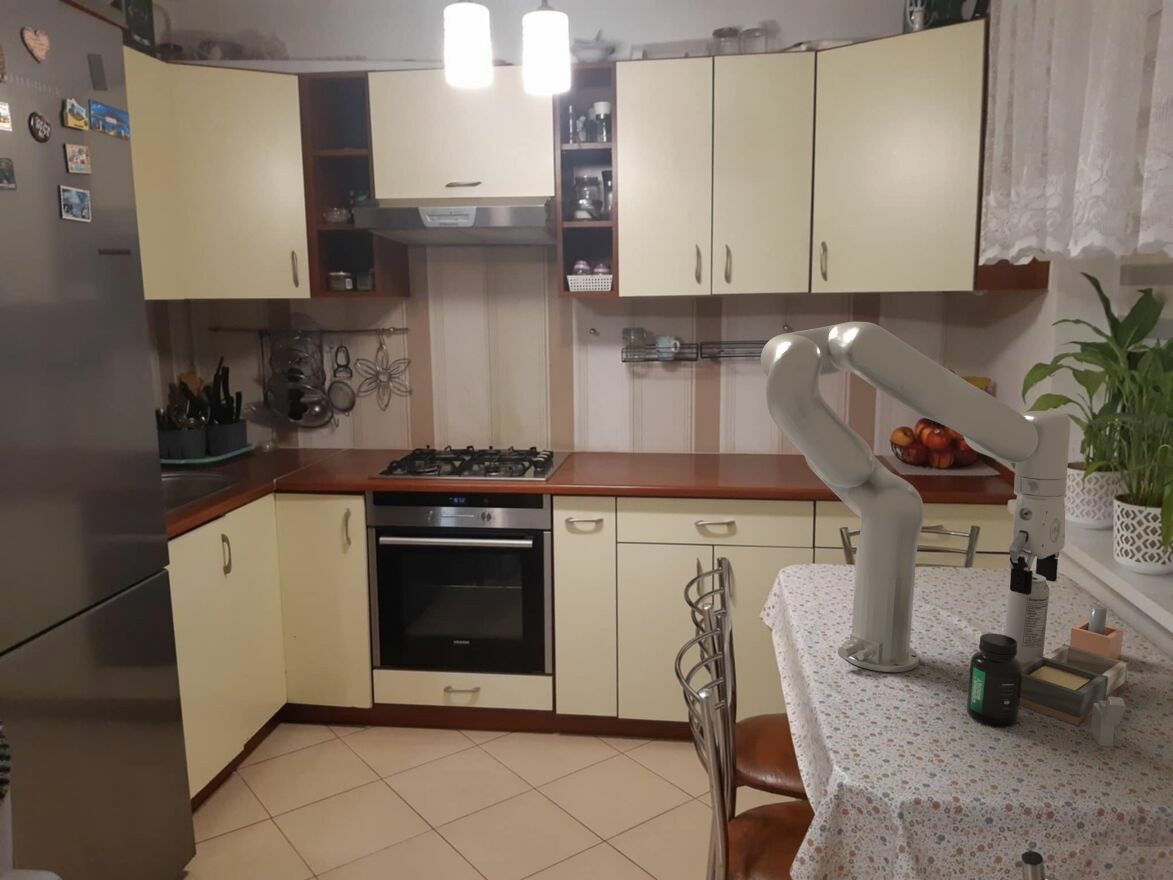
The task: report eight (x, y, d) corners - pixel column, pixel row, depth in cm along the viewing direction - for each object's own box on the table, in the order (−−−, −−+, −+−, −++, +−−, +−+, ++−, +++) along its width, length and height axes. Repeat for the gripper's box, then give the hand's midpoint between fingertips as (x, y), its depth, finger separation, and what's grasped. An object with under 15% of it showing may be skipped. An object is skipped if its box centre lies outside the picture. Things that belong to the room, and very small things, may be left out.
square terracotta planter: (1107, 666, 141) (1112, 618, 139) (1068, 655, 145) (1073, 608, 144) (1120, 657, 145) (1125, 610, 143) (1082, 646, 149) (1087, 600, 148)
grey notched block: (1089, 730, 119) (1095, 677, 118) (1103, 732, 119) (1109, 679, 117) (1105, 756, 112) (1111, 700, 111) (1119, 758, 112) (1126, 701, 111)
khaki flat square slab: (1072, 700, 123) (1073, 691, 123) (1025, 685, 128) (1026, 676, 128) (1090, 688, 127) (1090, 679, 127) (1044, 673, 132) (1045, 665, 132)
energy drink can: (1023, 652, 146) (1030, 569, 144) (1050, 666, 141) (1059, 580, 138) (994, 656, 145) (1001, 572, 142) (1020, 670, 139) (1029, 583, 137)
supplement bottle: (973, 725, 120) (980, 646, 118) (960, 704, 127) (967, 628, 125) (1024, 730, 119) (1032, 650, 117) (1009, 708, 126) (1016, 632, 124)
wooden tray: (1077, 725, 121) (1080, 696, 120) (1006, 700, 128) (1009, 672, 128) (1127, 687, 133) (1130, 660, 132) (1060, 666, 141) (1063, 640, 140)
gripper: (1041, 498, 130) (1034, 603, 132) (1085, 482, 141) (1078, 580, 143) (992, 490, 135) (986, 592, 138) (1038, 475, 146) (1032, 570, 149)
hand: (1033, 586), depth 141 cm, fingers open, 9 cm apart
